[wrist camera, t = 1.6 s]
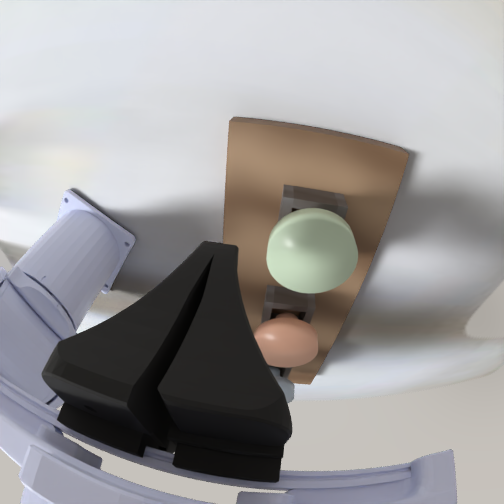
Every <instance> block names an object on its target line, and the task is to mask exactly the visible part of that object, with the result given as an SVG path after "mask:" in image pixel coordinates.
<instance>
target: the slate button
mask: <svg viewBox="0 0 504 504" xmlns="http://www.w3.org/2000/svg"><path fill="white" fill-rule="evenodd" d="M269 368H270V370H271V372H272V374H273V375H274V377H275V379H276V380H277V382H278V384H279V385H280V387H281V389H282V390H283V392H284V394H285V397H286V401H287V403H289V402H291V401H292V400H293V399H294V384H293V382H291V381H290V380H288V379H286V378H284V377H280V370H279V369H278V368H276V367H269Z"/></svg>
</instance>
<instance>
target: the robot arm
mask: <svg viewBox="0 0 504 504" xmlns="http://www.w3.org/2000/svg"><path fill="white" fill-rule="evenodd" d="M67 199H68V200H67ZM135 241H136V239H135V237H134V235H132V234H131V233H129V232H128V231H127V230H125V229H124V228H122V227H121V226H119V225H118V224H117V223H115V222H114V221H112V220H111V219H110V218H108V217H107V216H105V215H104V214H103V213H101V212H100V211H98V210H97V209H96V208H94V207H93V206H92V205H90V204H89V203H87V202H86V201H85V200H83V199H82V198H81V197H79V196H78V195H77V194H75V193H74V192H73V191H71V190H70V189H68V190H66V191H65V192H64V195H63V198H62V202H61V206H60V210H59V214H58V218H57V221H56V222H55V223H54V224H53V225H52V226H51V227H50V228H49V229H48V230H47V231H46V232H45V233H44V234H43V235H42V236H41V237H40V238H39V239H38V240H37V241H36V242H35V244H34V245H33V246H32V247H31V248H30V249H29V250H28V251H27V252H26V253H25V254H24V255H23V256H22V258H21V259H20V260H19V261H18V262H17V263H16V264H15V266H14V267H13V268H12V269H11V270H10V271H9V272H6V270H5V269H4V268H3V267H0V449H2V451H4V452H5V453H6V454H7V455H8V456H9V457H10V458H11V459H12V460H14V461H15V462H16V463H17V464H18V465H19V466H20V467H21V470H20V473H19V478H20V480H21V482H22V484H23V485H24V486H25V487H24V490H23V494H22V498H21V502H20V504H214V503H208V502H203V501H198V500H193V499H189V498H185V497H180V496H176V495H172V494H168V493H165V492H161V491H158V490H155V489H151V488H148V487H145V486H142V485H139V484H136V483H133V482H130V481H127V480H125V479H122V478H119V477H117V476H114V475H112V474H109V473H107V472H104V471H102V470H101V469H100V467H101V463H102V458H101V457H99V456H97V455H95V454H93V453H91V452H89V451H88V450H86V449H84V448H83V447H81V446H80V445H78V444H77V443H75V442H73V441H71V440H69V439H67V438H66V437H64V436H63V433H62V432H64V433H66V434H68V435H70V436H72V437H74V438H76V439H78V440H80V441H82V442H84V443H86V444H89V445H91V446H93V447H96V448H98V449H100V450H103V451H105V452H108V453H110V454H113V455H115V456H118V457H120V458H123V459H126V460H129V461H132V462H134V463H137V464H140V465H144V466H147V467H150V468H153V469H156V470H160V471H164V472H167V473H171V474H175V475H179V476H183V477H187V478H192V479H196V480H202V481H206V482H212V483H218V484H224V485H230V486H237V487H246V488H256V489H267V490H285V491H287V492H285V493H284V494H283V493H260V492H259V493H258V492H243V491H241V492H239V493H238V497H237V503H236V504H457V490H456V489H457V488H456V474H455V464H454V455H453V450H451V449H450V450H446V451H442V452H438V453H434V454H429V455H426V456H423V457H420V458H418V459H416V460H414V461H412V462H410V463H405V464H399V465H392V466H385V467H377V468H368V469H357V470H342V471H285V470H280V468H281V458H283V452H284V444H285V443H286V442H287V440H289V438H290V437H291V435H292V421H291V416H290V411H289V407H288V404H287V401H286V397H285V394H284V392H283V390H282V389H281V387H280V385H279V384H278V382H277V380H276V379H275V377H274V375H273V374H272V372H271V370H270V368H269V366H268V364H267V363H266V361H265V359H264V357H263V354H262V352H261V350H260V348H259V346H258V343H257V341H256V339H255V337H254V334H253V332H252V329H251V326H250V324H249V321H248V318H247V315H246V311H245V308H244V304H243V300H242V296H241V291H240V286H239V280H238V273H237V268H238V253H239V248H238V247H237V246H236V245H230V244H223V243H215V242H208V241H204V242H203V243H201V244H200V245H199V247H198V248H197V249H196V250H195V251H194V252H193V253H192V254H191V255H190V256H189V257H188V258H187V259H186V260H185V261H184V262H183V263H182V264H181V265H180V266H179V267H178V268H177V269H175V270H174V271H173V272H172V273H171V274H170V275H169V276H168V277H167V278H166V279H164V280H163V281H162V282H161V283H160V284H159V285H157V286H156V287H155V288H154V289H153V290H151V291H150V292H149V293H147V294H146V295H145V296H144V297H142V298H141V299H139V300H138V301H137V302H135V303H134V304H132V305H131V306H129V307H128V308H126V309H124V310H123V311H121V312H120V313H118V314H116V315H115V316H113V317H111V318H109V319H108V320H106V321H104V322H102V323H100V324H98V325H96V326H94V327H92V328H90V329H88V330H86V331H83V332H81V333H78V334H77V333H76V331H77V329H78V327H79V325H80V324H81V322H82V320H83V319H84V317H85V315H86V313H87V312H88V310H89V308H90V307H91V305H92V304H93V302H94V300H95V299H96V297H97V295H98V294H99V292H100V291H101V292H103V293H105V294H107V293H108V292H109V290H110V288H111V286H112V284H113V282H114V280H115V278H116V276H117V274H118V272H119V271H120V269H121V267H122V265H123V263H124V261H125V259H126V257H127V256H128V254H129V252H130V250H131V248H132V247H133V245H134V243H135ZM127 242H128V243H129V244H128V243H127ZM62 405H63V406H62ZM60 406H62V408H61V410H60V411H59V410H57V409H56V408H58V407H60ZM61 431H62V432H61ZM174 452H175V454H173V453H174Z"/></svg>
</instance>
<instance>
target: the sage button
mask: <svg viewBox="0 0 504 504" xmlns="http://www.w3.org/2000/svg"><path fill="white" fill-rule="evenodd" d="M266 260H267V266H268V269H269V271H270V273H271V275H272V276H273V278H274V279H275V280H276V281H277V282H278V283H280V284H281V285H282V286H284V287H286V288H288V289H290V290H293V291H296V292H300V293H321V292H325V291H329V290H331V289H334V288H336V287H338V286H339V285H341V284H342V283H344V282H345V281H346V280H347V279H348V278H349V277H350V276H351V274H352V273H353V271H354V270H355V268H356V265H357V261H358V249H357V245H356V242H355V239H354V236H353V233H352V230H351V228H350V226H349V225H348V224H347V222H346V221H345V220H344V219H343V218H342V217H340V216H339V215H337V214H335V213H333V212H331V211H328V210H325V209H319V208H306V209H301V210H297V211H294V212H292V213H290V214H288V215H286V216H285V217H283V218H282V219H281V220H280V221H279V222H277V224H276V225H275V226H274V228H273V229H272V231H271V233H270V236H269V240H268V248H267V258H266Z"/></svg>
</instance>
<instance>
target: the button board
mask: <svg viewBox="0 0 504 504" xmlns="http://www.w3.org/2000/svg"><path fill="white" fill-rule="evenodd" d="M408 157H409V154H408V153H407V152H406V151H405V150H404V149H402V148H401V147H398V146H395V145H391V144H387V143H384V142H380V141H376V140H372V139H368V138H364V137H360V136H355V135H351V134H346V133H342V132H337V131H332V130H327V129H322V128H316V127H310V126H304V125H298V124H292V123H285V122H278V121H270V120H261V119H252V118H242V117H233V118H232V119H231V120H230V121H229V132H228V147H227V164H226V183H225V203H224V226H223V244H230V245H236V246H237V247H238V248H239V253H238V268H237V273H238V280H239V286H240V291H241V296H242V300H243V304H244V308H245V311H246V315H247V318H248V321H249V324H250V326H251V329H252V332H253V334H254V332H255V330H256V328H257V327H258V326H259V325H260V324H262V323H264V322H266V321H268V320H271V319H275V318H276V316H277V315H278V314H280V313H285V312H287V313H292V314H294V315H296V316H297V318H298V319H299V320H302V321H305V322H307V323H308V324H310V325H311V326H313V327H314V329H315V330H316V332H317V335H318V353H317V355H316V357H315V358H314V359H313V360H311V361H310V362H308V363H306V364H304V365H301V366H296V367H276V368H278V369H279V370H280V377H284V378H286V379H288V380H290V381H291V382H293V383H298V384H311V382H312V381H313V379H314V377H315V376H316V374H317V372H318V370H319V369H320V367H321V365H322V363H323V361H324V360H325V358H326V356H327V354H328V352H329V350H330V349H331V347H332V345H333V343H334V341H335V339H336V337H337V335H338V333H339V331H340V329H341V327H342V325H343V323H344V321H345V319H346V317H347V315H348V313H349V311H350V309H351V307H352V305H353V303H354V301H355V298H356V296H357V294H358V292H359V290H360V287H361V285H362V283H363V281H364V278H365V276H366V274H367V272H368V269H369V267H370V264H371V262H372V260H373V257H374V255H375V252H376V250H377V247H378V245H379V242H380V240H381V237H382V235H383V232H384V229H385V227H386V224H387V221H388V218H389V216H390V213H391V210H392V207H393V204H394V201H395V198H396V195H397V192H398V189H399V186H400V183H401V180H402V177H403V174H404V170H405V167H406V164H407V160H408ZM306 208H319V209H325V210H328V211H331V212H333V213H335V214H337V215H339V216H340V217H342V218H343V219H344V220H345V221H346V222H347V224H348V225H349V226H350V228H351V230H352V233H353V236H354V239H355V242H356V245H357V249H358V261H357V265H356V268H355V270H354V271H353V273H352V274H351V276H350V277H349V278H348V279H347V280H346V281H345V282H344V283H342V284H341V285H339V286H338V287H336V288H334V289H331V290H329V291H325V292H321V293H300V292H296V291H293V290H290V289H288V288H286V287H284V286H282V285H281V284H280V283H278V282H277V281H276V280H275V279H274V278H273V276H272V275H271V273H270V271H269V269H268V266H267V260H266V258H267V248H268V240H269V236H270V233H271V231H272V229H273V228H274V226H275V225H276V224H277V222H279V221H280V220H281V219H282V218H283V217H285V216H286V215H288V214H290V213H292V212H294V211H297V210H301V209H306ZM268 366H269V367H275V366H271V365H268Z"/></svg>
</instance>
